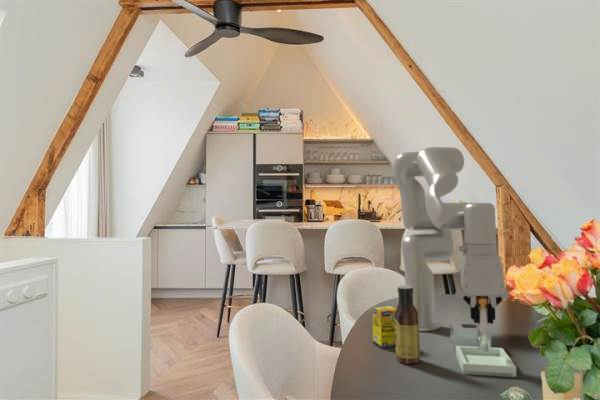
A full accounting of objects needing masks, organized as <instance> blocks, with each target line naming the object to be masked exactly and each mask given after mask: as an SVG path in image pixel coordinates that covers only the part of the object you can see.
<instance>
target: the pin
mask: <svg viewBox="0 0 600 400" xmlns="http://www.w3.org/2000/svg"><path fill="white" fill-rule="evenodd" d="M475 304H476V307H477V309H478V323H477V345H478V350H479V351H483V352H489V351H490V330H491V329H490V328H491V327H490V323H489V297H488V296H476V302H475Z"/></svg>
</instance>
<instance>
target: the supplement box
mask: <svg viewBox="0 0 600 400" xmlns="http://www.w3.org/2000/svg"><path fill="white" fill-rule="evenodd" d="M396 310H397V308H395V307H393V306H391V305H388V306H377V307H376V306H374V307H372V344H375V345H376V346H377V347H378V348H380V349H388V348H396V341H395V313H396Z"/></svg>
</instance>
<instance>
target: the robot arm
mask: <svg viewBox="0 0 600 400" xmlns="http://www.w3.org/2000/svg"><path fill="white" fill-rule="evenodd" d="M464 157H465V156H464V155H463V153H462V152H461V150H459V149H458V148H457V147H453V146H450V147H446V146H443V147H442V146H441V147H440V146H437V147H436V146H432V147H426V148H423V149H422V150H420V151H409V152H402V153H400V154H398V155H397V156H396V157H395V159H394V162H393V176H394V180H395V182H396V185H397V187H398V190H399V195H400V204H401V215H402V223H403V225H404V227H405V229H406V230H409V231H432V232H433V233H415V234H409V235H407V236H405V237H404V238H403V239H402V241H401V245H400V247H401V248H400V250H401V254H402V258H403V259H402V260H403V266H404V283H405V284H404V286H412V287H413V305H414V307H415V308H416V310H417V312H418V322H419V332H431V331H436V330H438V329H440V328H441V325H440V322H439V321H436V319H435V317H436V315H435V314H436V313H435V311H436V310H435V282H434V280H435V279H434V278H435V277H434V273H433V271H432V269H431V268H430V267H429V266H428V264H427V263H429V262H430V263H431V262H432V263H433V262H445V261H449V260H450V259H452V257H453V254H454V241H453V240H454V239H453V232H452V231H464V244H463V245H460V246H458V251H459V252H462V253H464V255H462V258H461V263H460V264H461V265H460V280H459V281H460V283H459V285H458V286H457V289H456V291H455V292H454V294H455V296H456V297H458V298H459V299H461V300H463V301H464V302H465V303H467V304H468V305H469V306H470V307H469V310H470V319H471V320H472V321H473V323H478V309H477V307H476V296H488V298H489V324H494V320H496V308H497V306H498V305H499V304H500V303H501V302H503V301H504V300H506V299H509V298H510V297H511V295H510V296H509V294H510V293H509V291H508V290H507V288H506V287H505V276H504V269H503V264H502V263H503V262H502V258H501V256H499V255H497V254H498V253H497V235H496V234H497V233H496V231H497V230H496V226H497V225H496V208H495V205H494V204H492V203H490V202H447V203H446V202H443V201H442V200H441V198H442V197H444V196H446V195H448V194H450V193H451V192H453V191H454V190H455V189H456V188H457V186H458V183H459V177H458V175H457V174H458V173H461V171H462V170H463V168H464V165H465V158H464ZM416 177H424V179H425V181H426V182H427V184H428V186H429V187H428V189H427V190H426V191H425V188H424V187H423V185H422V184H421V182H419V181H418V179H416Z"/></svg>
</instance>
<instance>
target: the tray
mask: <svg viewBox="0 0 600 400" xmlns="http://www.w3.org/2000/svg"><path fill="white" fill-rule="evenodd" d="M455 357H456V359H457V361H458V364H459V367H460V369H461V372H462V374H463V375H472V376H473V375H475V376H476V375H477V376H489V377H491V376H492V377H504V378H505V377H507V378H508V377H509V378H517V366H516V364H515V363H514V362H513V360H512V359H511V357H510V356H509V355H508V354H507V352H506V351H505V350H504V348H503V347H491V348H490V351H489V352H483V351H479V350H478V347H469V346H456V350H455Z"/></svg>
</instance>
